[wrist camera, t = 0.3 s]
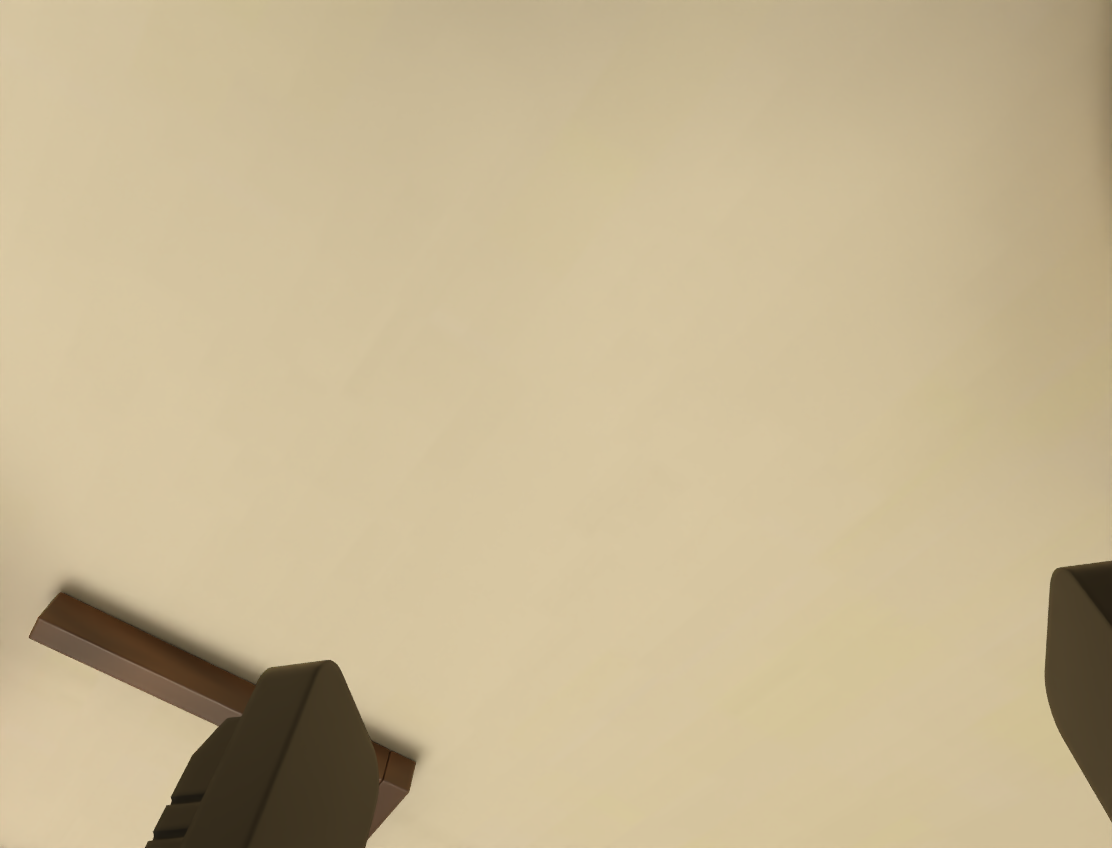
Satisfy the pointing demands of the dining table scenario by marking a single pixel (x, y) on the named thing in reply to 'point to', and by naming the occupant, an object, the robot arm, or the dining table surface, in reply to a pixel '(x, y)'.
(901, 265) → the dining table surface
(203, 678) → the frame
